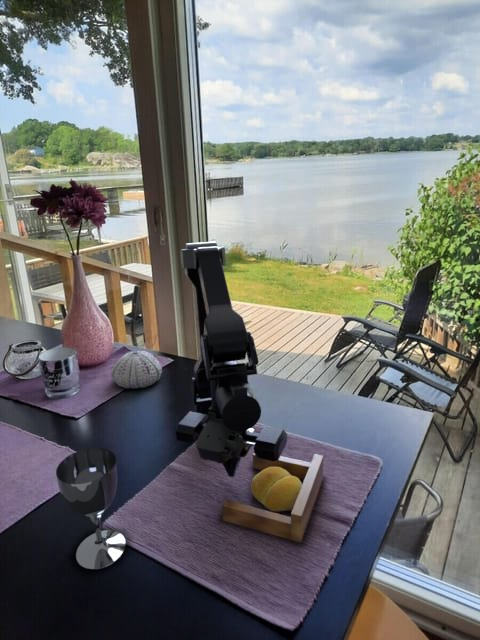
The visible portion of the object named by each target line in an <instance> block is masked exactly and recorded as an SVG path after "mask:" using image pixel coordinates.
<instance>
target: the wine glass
mask: <svg viewBox="0 0 480 640" xmlns="http://www.w3.org/2000/svg"><path fill="white" fill-rule="evenodd" d="M55 475H56V481H57V482H56V483H57V485H58V490H59V492H60V495H61V497H62V499H63V501H64V503H65V505H66V507H67V508H68V509H69V510H70V511H71V512H72V513H74V514H76V515H78V516H80V517H84V518H87V519H89V521H90V522H91V524H92V527H93V529H94V533H92V534H90V535H89V536H87V537H86V538H84V540H82V542H81V543H80V544H79V545H78V547H77V549H76V553H75V560H76V562H77V564H78V565H79V566H80V567H82V568H84V569H86V570H100V569H104V568H107V567H109V566H111V565H112V564H114V563H116V561H118V560H119V559H120V558H121V556H122V555H123V554H124V552H125V549H126V545H127V543H126V542H127V541H126V538H125V537H124V535H123V534H122V533H120V532H119V531H117V530H113V529H112V530H111V529H105V530H102V524H101V523H102V516H103V514H104V512H105V511H106V510H107V509H108V508H109V507H110V506H111V505H112V503H113V501H114V500H115V499H116V495H117V491H118V483H119V470H118V462H117V456H116V454H115V453H114V452H113V451H111V450H109V449H108V448H103V447H89V448H85V449H84V448H83V449H79V450H77V451H75V452H73V453H71V454H69V455H68V456H66V457H65V458H64V459H62V461H60V462H59V464H58V465H57V467H56V470H55Z"/></svg>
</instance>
